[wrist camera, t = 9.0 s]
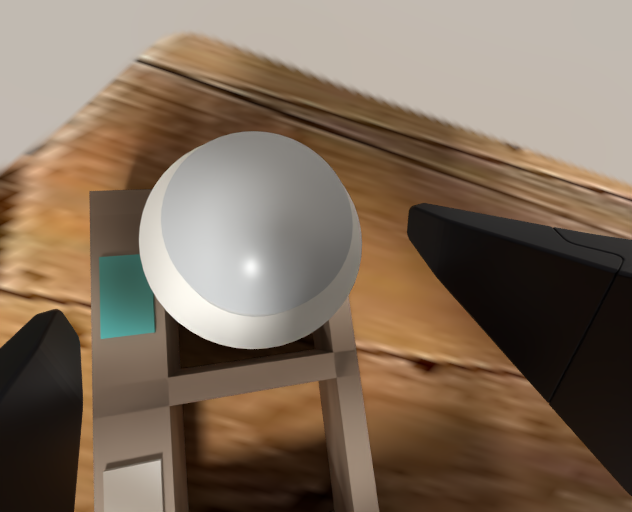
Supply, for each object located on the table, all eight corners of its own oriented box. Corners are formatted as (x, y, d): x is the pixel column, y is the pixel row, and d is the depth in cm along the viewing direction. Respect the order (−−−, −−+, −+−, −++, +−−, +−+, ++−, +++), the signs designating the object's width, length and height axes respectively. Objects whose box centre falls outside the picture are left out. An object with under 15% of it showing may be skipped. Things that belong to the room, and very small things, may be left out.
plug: (303, 304, 19) (429, 253, 7) (230, 358, 17) (223, 413, 5) (255, 234, 19) (292, 64, 7) (179, 282, 18) (61, 174, 6)
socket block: (357, 528, 17) (390, 579, 14) (127, 593, 15) (94, 675, 11) (315, 208, 20) (333, 181, 16) (116, 218, 17) (87, 189, 14)
